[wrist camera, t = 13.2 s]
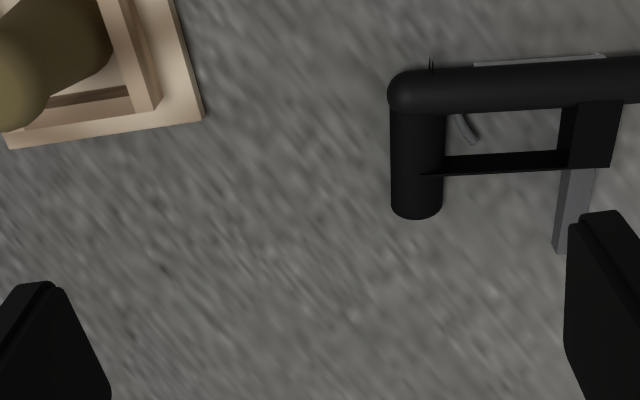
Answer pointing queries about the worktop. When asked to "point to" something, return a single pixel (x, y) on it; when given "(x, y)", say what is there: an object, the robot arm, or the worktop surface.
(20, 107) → the olive tall rounded piece
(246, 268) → the worktop surface
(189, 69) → the holder
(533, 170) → the door handle
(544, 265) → the worktop surface
